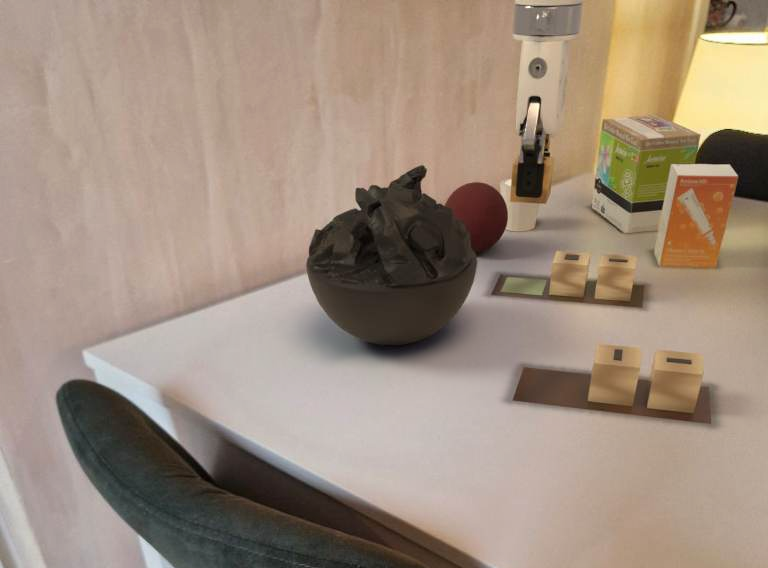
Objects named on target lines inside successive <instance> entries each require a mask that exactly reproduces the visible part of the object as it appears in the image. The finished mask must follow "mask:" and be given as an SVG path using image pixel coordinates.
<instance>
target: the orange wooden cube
mask: <svg viewBox="0 0 768 568" xmlns="http://www.w3.org/2000/svg"><path fill="white" fill-rule="evenodd" d="M519 158H520V155H517V157H516V159H515V160H514V161H513V163H512V168H511V178H512V181H511V194H510V202H523V203H539V205H540V204H541V205H546V204H547V202H548V201H549V198H550V196H551V194H552V193H551V192H552V185H553V184H552V183H553V174H554V164H555V156H550V157H543V162H542V163H545V166H544V176H543V187H542V195H541V197H539V198H531V197H518V196H516V183H517V171H518V162H519Z"/></svg>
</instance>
